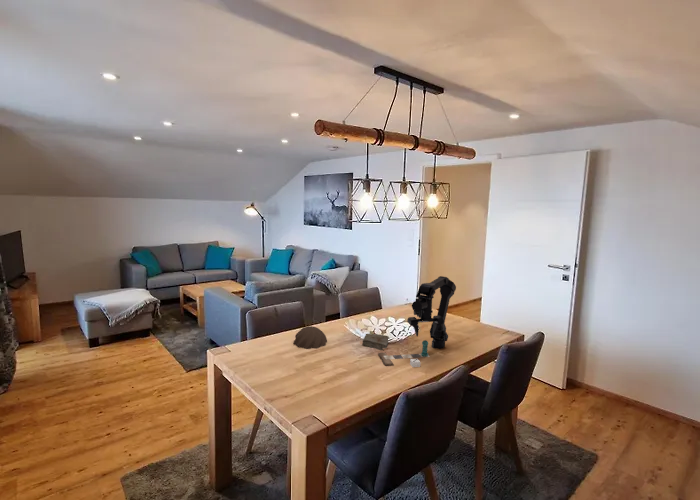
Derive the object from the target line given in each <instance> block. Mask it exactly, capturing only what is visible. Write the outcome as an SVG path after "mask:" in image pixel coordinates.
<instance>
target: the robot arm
mask: <svg viewBox="0 0 700 500" xmlns="http://www.w3.org/2000/svg"><path fill="white" fill-rule="evenodd" d="M437 290H439V293H440V296H441V297H440V301H439V306H438V310H437V315H433V317H432V314H433V310H432V309H433V299H434V295H435V294H436V291H437ZM456 290H457V286H456V284H455V283H454V282H453V281H452V280H450V279H449V277H447V276H443V275H441V276H438V277H437V278H436V279H434V280H432V281H431V282H424V283H421V284H420V285H419V287H418V291H417V292H416V295H415V297H416V298H415V300H414V301H413V302H412V303H411V308H412V310H413V315H414V316H408V318H407V323H408V324H409V325H410V326H412V327H413V329H414V333H415V337H418V336H419V328H420V327H419V323H430V322H431V327H430V330H429V336H430V338H431V339H432V341H431V347H432V348H433V349H437V350H442V349H445V348H446V342H448V339H449V334H448V333H447V326H446V323H445V322H446V319H447V313H448V310H449V309H448V308H449V306H450V305H449V303H450V300H451V298H452V297H454V295H455V292H456ZM417 317H418V318H417Z"/></svg>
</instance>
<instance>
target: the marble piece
mask: <svg viewBox="0 0 700 500" xmlns="http://www.w3.org/2000/svg"><path fill="white" fill-rule="evenodd" d="M388 339H390V337H389V336H388V335H385V334H378V333H365V335H364V337H363V339H362V343H361V344H362V346H364V347H366V348H370V349H375V350H379V351H385V349H387V347H388V344H389V340H388Z"/></svg>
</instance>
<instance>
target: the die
mask: <svg viewBox="0 0 700 500" xmlns="http://www.w3.org/2000/svg"><path fill="white" fill-rule="evenodd" d="M409 359H410V360H409V365H410V366H411V367H412V368H420V367H421V360H419V358H409Z"/></svg>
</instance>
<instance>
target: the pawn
mask: <svg viewBox="0 0 700 500" xmlns="http://www.w3.org/2000/svg"><path fill="white" fill-rule="evenodd" d="M421 344H422V350H421V353H420V354H421V356H424V357H423V358H428V357H427V356H428V355H429V353H428V346H429V341H428V340H427V339H425V340H423V341H422V342H421Z"/></svg>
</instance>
